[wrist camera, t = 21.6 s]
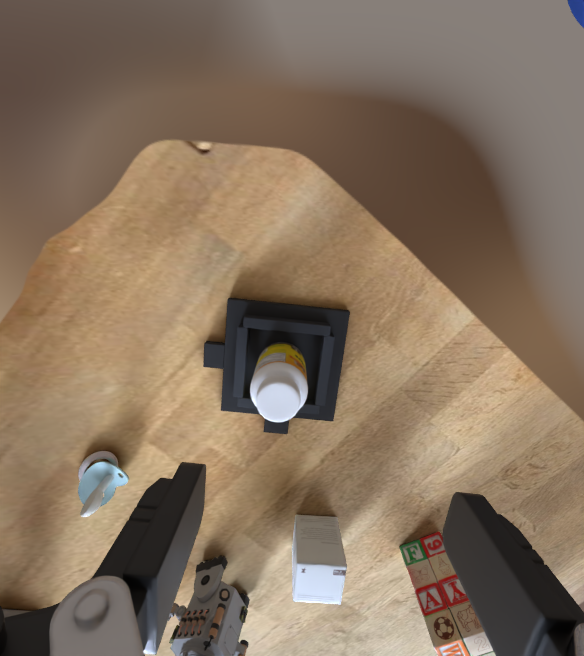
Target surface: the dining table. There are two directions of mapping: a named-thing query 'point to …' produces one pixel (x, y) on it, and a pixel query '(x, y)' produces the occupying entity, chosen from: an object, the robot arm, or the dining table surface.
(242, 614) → the figurine
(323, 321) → the black tray
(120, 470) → the pacifier
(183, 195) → the dining table surface
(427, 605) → the stack of blocks
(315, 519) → the product carton
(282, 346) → the supplement bottle
